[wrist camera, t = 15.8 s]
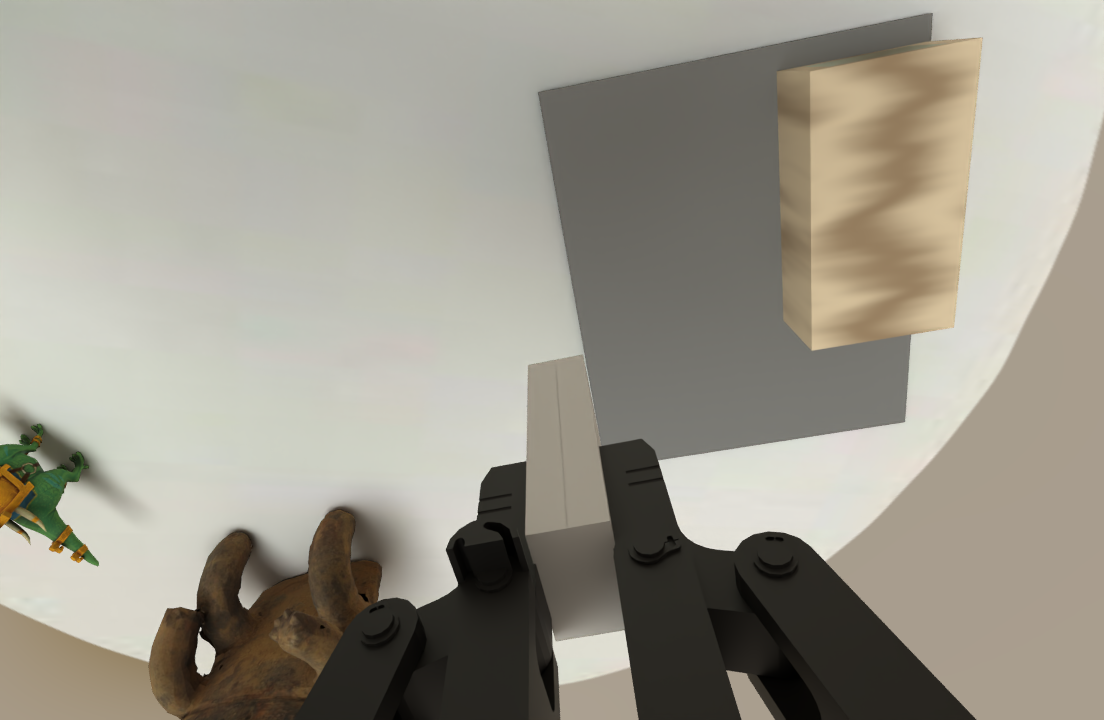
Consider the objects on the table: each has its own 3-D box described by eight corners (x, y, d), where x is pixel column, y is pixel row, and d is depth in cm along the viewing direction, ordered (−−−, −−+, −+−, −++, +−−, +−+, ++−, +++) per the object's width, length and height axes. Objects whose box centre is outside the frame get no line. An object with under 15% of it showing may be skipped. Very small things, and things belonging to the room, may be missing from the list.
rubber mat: (538, 92, 33) (538, 92, 32) (928, 13, 31) (932, 13, 31) (604, 465, 43) (605, 468, 42) (901, 418, 41) (905, 421, 41)
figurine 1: (3, 387, 40) (-120, 460, 33) (156, 507, 44) (76, 595, 37) (-24, 413, 41) (-150, 489, 33) (128, 527, 45) (45, 618, 37)
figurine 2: (357, 485, 43) (228, 813, 25) (409, 558, 46) (326, 891, 29) (196, 537, 45) (-26, 873, 27) (257, 603, 49) (94, 939, 31)
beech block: (811, 350, 34) (810, 71, 28) (783, 320, 38) (776, 71, 32) (953, 327, 33) (982, 37, 27) (909, 299, 37) (926, 41, 31)
